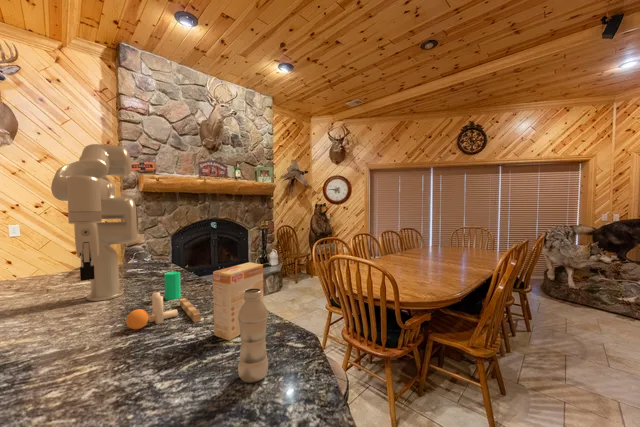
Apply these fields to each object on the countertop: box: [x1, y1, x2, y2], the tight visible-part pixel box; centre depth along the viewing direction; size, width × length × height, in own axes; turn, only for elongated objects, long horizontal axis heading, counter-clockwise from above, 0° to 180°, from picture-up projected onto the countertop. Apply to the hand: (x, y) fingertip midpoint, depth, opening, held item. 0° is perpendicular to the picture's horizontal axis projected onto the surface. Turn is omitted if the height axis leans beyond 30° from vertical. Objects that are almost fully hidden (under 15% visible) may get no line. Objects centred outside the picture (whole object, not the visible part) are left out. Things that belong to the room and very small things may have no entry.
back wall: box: [179, 297, 201, 323], centre depth 102 cm, size 20×2×2 cm, turn 39°
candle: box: [163, 270, 182, 301], centre depth 118 cm, size 6×6×12 cm
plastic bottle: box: [237, 288, 269, 384], centre depth 63 cm, size 6×7×20 cm
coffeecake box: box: [212, 262, 265, 341], centre depth 88 cm, size 15×7×20 cm, turn 149°
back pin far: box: [151, 291, 161, 314], centre depth 97 cm, size 2×2×8 cm
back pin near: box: [154, 295, 165, 325], centre depth 93 cm, size 2×2×8 cm
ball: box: [125, 308, 150, 330], centre depth 89 cm, size 6×6×6 cm
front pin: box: [148, 308, 179, 323], centre depth 96 cm, size 2×2×8 cm
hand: (87, 279), depth 83 cm, fingers closed
